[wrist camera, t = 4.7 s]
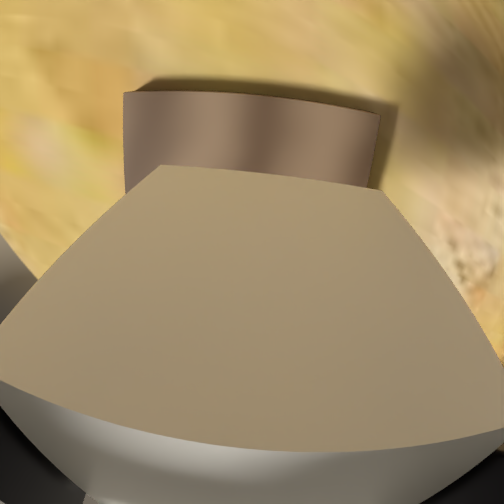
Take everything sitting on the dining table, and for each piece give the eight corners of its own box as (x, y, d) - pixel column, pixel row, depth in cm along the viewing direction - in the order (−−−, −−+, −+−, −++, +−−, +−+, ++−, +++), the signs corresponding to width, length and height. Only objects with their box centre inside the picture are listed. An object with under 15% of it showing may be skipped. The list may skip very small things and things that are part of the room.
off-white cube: (382, 190, 8) (527, 420, 2) (333, 347, 11) (353, 536, 5) (160, 164, 8) (-30, 364, 2) (169, 329, 11) (109, 511, 5)
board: (373, 112, 16) (381, 115, 15) (313, 351, 26) (315, 364, 25) (134, 91, 16) (123, 92, 15) (150, 330, 26) (144, 342, 25)
